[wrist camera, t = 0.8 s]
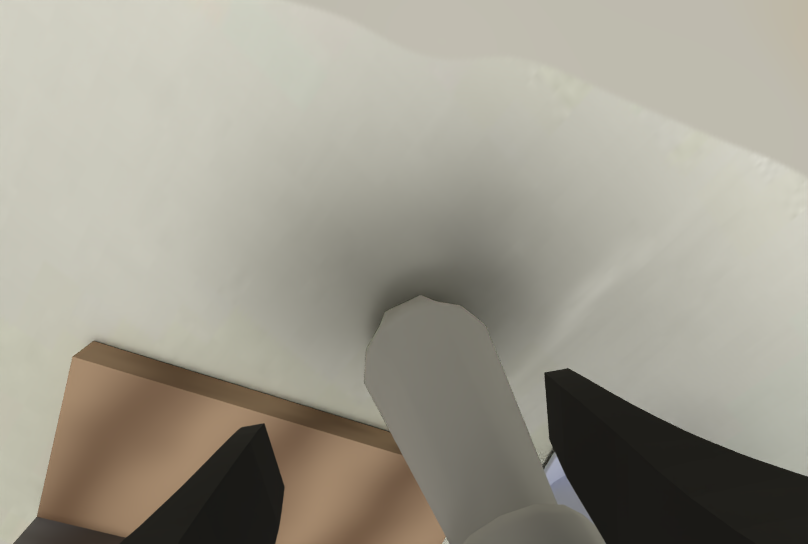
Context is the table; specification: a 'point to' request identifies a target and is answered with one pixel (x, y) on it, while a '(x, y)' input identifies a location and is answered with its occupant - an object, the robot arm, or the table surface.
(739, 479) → the robot arm
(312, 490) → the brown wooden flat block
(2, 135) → the table surface
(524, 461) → the salt shaker
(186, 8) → the table surface
